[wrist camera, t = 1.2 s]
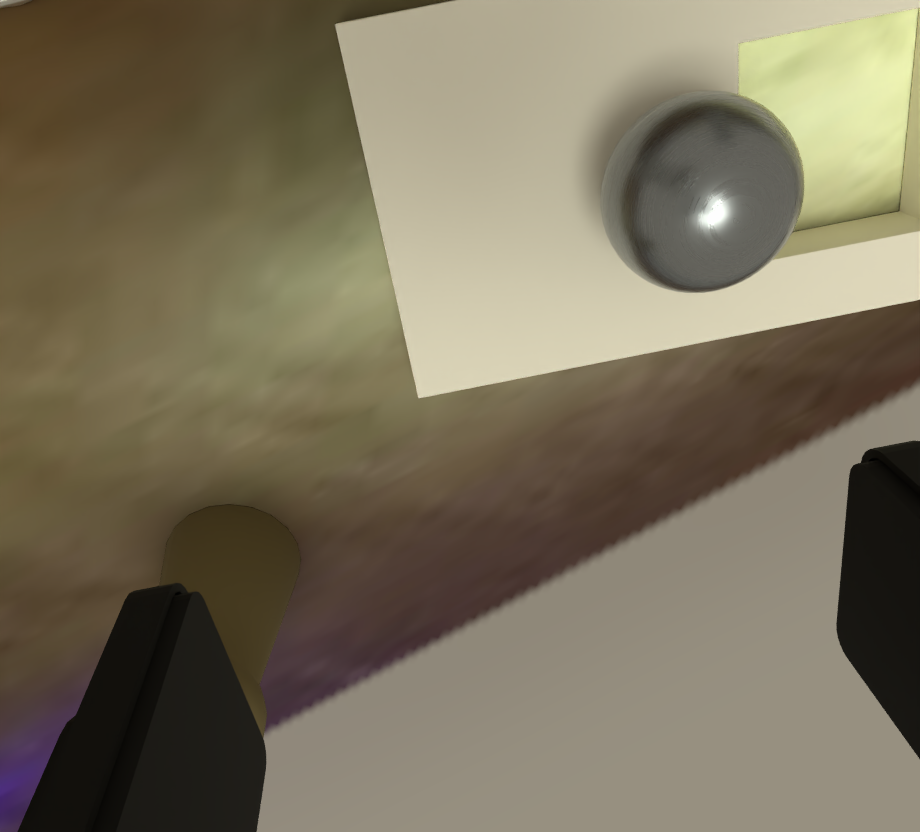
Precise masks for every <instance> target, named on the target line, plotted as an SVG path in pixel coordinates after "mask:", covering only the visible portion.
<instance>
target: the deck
mask: <svg viewBox="0 0 920 832" xmlns="http://www.w3.org/2000/svg"><path fill="white" fill-rule="evenodd" d="M916 8H919V16H918V26H917V36H916V47H915V57H914V67H913V77H912V88H911V98H910V108H909V118H908V129H907V139H906V149H905V159H904V169H903V180H902V190H901V200H900V210H899V211H898V212H893V213H888V214H883V215H878V216H873V217H868V218H862V219H857V220H852V221H847V222H842V223H837V224H832V225H827V226H822V227H817V228H812V229H807V230H802V231H796V232H792V234H791V236H790V237H789V239H788V241H787V242H786V244H785V245H784V247H783V248H782V249H781V250H780V252H779V253H778V254H777V255H776V256H775V257H774V258H773V260H772V261H771V262H770V263H769V264H767V265H766V266H765V267H764V268H763V269H761V270H760V271H759V272H757V273H756V274H754V275H753V276H751V277H750V278H748V279H746V280H744V281H742V282H740V283H738V284H736V285H733V286H730V287H728V288H725V289H721V290H718V291H713V292H706V293H682V292H675V291H671V290H667V289H664V288H661V287H658V286H656V285H654V284H651V283H649V282H648V281H646V280H644V279H643V278H641V277H639V276H638V275H637V274H636V273H634V272H633V271H632V270H631V269H630V268H628V267H627V266H626V265H625V263H624V262H623V261H622V260H621V259H620V258H619V256H618V255H617V253H616V251H615V250H614V248H613V247H612V245H611V243H610V241H609V239H608V237H607V235H606V231H605V228H604V225H603V220H602V214H601V207H600V193H601V184H602V179H603V175H604V171H605V168H606V165H607V163H608V160H609V158H610V156H611V154H612V152H613V150H614V148H615V146H616V144H617V143H618V141H619V140H620V138H621V137H622V135H623V134H624V133H625V132H626V131H627V129H628V128H629V127H630V126H631V125H632V124H633V123H634V122H635V121H636V120H637V119H638V118H639V117H640V116H642V115H643V114H644V113H646V112H647V111H648V110H650V109H651V108H653V107H654V106H656V105H658V104H660V103H661V102H663V101H666V100H668V99H671V98H673V97H676V96H679V95H683V94H686V93H690V92H697V91H724V92H730V93H735V94H738V43H743V42H748V41H753V40H758V39H763V38H769V37H774V36H779V35H784V34H789V33H794V32H799V31H804V30H809V29H814V28H819V27H824V26H829V25H834V24H840V23H845V22H850V21H855V20H860V19H865V18H870V17H875V16H880V15H885V14H890V13H895V12H900V11H905V10H911V9H916ZM335 27H336V31H337V36H338V40H339V45H340V49H341V54H342V58H343V62H344V67H345V71H346V76H347V80H348V85H349V89H350V94H351V98H352V103H353V107H354V112H355V116H356V121H357V125H358V130H359V134H360V138H361V143H362V147H363V152H364V156H365V161H366V165H367V170H368V174H369V179H370V183H371V188H372V192H373V197H374V201H375V206H376V210H377V214H378V219H379V223H380V228H381V232H382V237H383V241H384V246H385V250H386V255H387V259H388V264H389V268H390V273H391V277H392V282H393V286H394V290H395V295H396V299H397V304H398V308H399V313H400V317H401V322H402V326H403V331H404V335H405V340H406V344H407V349H408V353H409V358H410V362H411V366H412V371H413V375H414V380H415V384H416V389H417V393H418V398H423V397H428V396H433V395H438V394H443V393H448V392H453V391H458V390H463V389H468V388H473V387H478V386H483V385H489V384H494V383H499V382H504V381H509V380H514V379H519V378H524V377H529V376H534V375H539V374H544V373H550V372H555V371H560V370H565V369H570V368H575V367H580V366H585V365H590V364H595V363H600V362H605V361H610V360H616V359H621V358H626V357H631V356H636V355H641V354H646V353H651V352H656V351H661V350H666V349H671V348H676V347H682V346H687V345H692V344H697V343H702V342H707V341H712V340H717V339H722V338H727V337H732V336H737V335H742V334H748V333H753V332H758V331H763V330H768V329H773V328H778V327H783V326H788V325H793V324H798V323H803V322H808V321H814V320H819V319H824V318H829V317H834V316H839V315H844V314H849V313H854V312H859V311H864V310H869V309H874V308H880V307H885V306H890V305H895V304H900V303H905V302H910V301H915V300H920V0H452V1H447V2H442V3H436V4H431V5H426V6H421V7H416V8H411V9H406V10H401V11H396V12H391V13H386V14H381V15H376V16H371V17H366V18H360V19H355V20H350V21H345V22H340V23H337V24H335Z"/></svg>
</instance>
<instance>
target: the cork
mask: <svg viewBox="0 0 920 832" xmlns="http://www.w3.org/2000/svg"><path fill="white" fill-rule="evenodd" d="M300 562H301V557H300V553H299V549H298V544H297V542H296V540H295V539H294V537H293V536H292V534H291V533H290V531H289V530H288V528H287V527H285V526H284V525H283V524H282V523H280V522H279V521H278V520H276V519H275V518H274V517H273V516H271V515H269V514H267V513H264V512H262V511H259V510H257V509H254V508H252V507H245V506H238V505H231V504H228V505H220V506H212V507H207V508H204V509H202V510H200V511H197V512H195V513H192V514H190V515H188V516H187V517H186V518H185V519H184V520H183V521H181V522H180V523H179V524H178V525H177V526H176V527H175V528H174V530H173V532H172V534H171V535H170V537H169V539H168V541H167V544H166V549H165V555H164V561H163V567H162V573H161V579H160V584H159V586H162V585H168V584H173V583H181V584H182V585H183V586H184V587H185V588H186V590H187V592H188V593H189V592H195V591H196V592H199V593H200V594H201V595H202V597H203V598H204V600H205V603H206V605H207V607H208V610H209V612H210V614H211V617H212V619H213V621H214V624H215V626H216V628H217V631H218V633H219V635H220V638H221V640H222V642H223V645H224V647H225V649H226V652H227V654H228V657H229V659H230V661H231V664H232V666H233V668H234V671H235V673H236V675H237V678H238V680H239V682H240V685H241V687H242V689H243V692H244V694H245V696H246V699H247V701H248V703H249V706H250V708H251V710H252V713H253V715H254V717H255V720H256V722H257V725H258V727H259V729H260V732H261V734H262V737H264V731H265V724H266V717H267V713H266V706H265V701H264V697H263V694H262V690H261V687H260V685H259V684H260V682H261V679H262V676H263V673H264V670H265V668H266V665H267V662H268V659H269V656H270V653H271V651H272V648H273V645H274V642H275V639H276V637H277V634H278V631H279V628H280V625H281V622H282V620H283V617H284V614H285V611H286V608H287V606H288V603H289V600H290V597H291V594H292V591H293V589H294V586H295V583H296V580H297V577H298V574H299V568H300Z"/></svg>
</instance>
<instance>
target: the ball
mask: <svg viewBox="0 0 920 832" xmlns="http://www.w3.org/2000/svg"><path fill="white" fill-rule="evenodd" d="M803 196H804V171H803V165H802V160H801V157H800V154H799V150H798V148H797V146H796V144H795V142H794V140H793V138H792V135H791V134H790V132H789V131H788V129H787V128H786V127H785V125H784V124H783V123H782V122H781V121H780V120H779V119H778V118H777V117H776V116H775V115H774V114H773V113H772V112H771V111H769V110H768V109H767V108H766V107H764V106H763V105H761V104H759V103H757V102H755V101H754V100H752V99H749V98H747V97H744V96H741V95H738V94H735V93H730V92H724V91H697V92H690V93H686V94H683V95H679V96H676V97H673V98H671V99H668V100H666V101H663V102H661V103H660V104H658V105H656V106H654V107H653V108H651V109H650V110H648V111H647V112H646V113H644V114H643V115H642V116H640V117H639V118H638V119H637V120H636V121H635V122H634V123H633V124H632V125H631V126H630V127H629V128H628V129H627V131H626V132H625V133H624V134H623V135H622V137H621V138H620V140H619V141H618V143H617V144H616V146H615V148H614V150H613V152H612V154H611V156H610V158H609V160H608V163H607V165H606V168H605V171H604V175H603V179H602V184H601V193H600V207H601V214H602V220H603V225H604V228H605V231H606V235H607V237H608V239H609V241H610V243H611V245H612V247H613V248H614V250H615V251H616V253H617V255H618V256H619V258H620V259H621V260H622V261H623V262H624V263H625V265H626V266H627V267H628V268H630V269H631V270H632V271H633V272H634V273H636V274H637V275H638V276H639V277H641V278H643V279H644V280H646V281H648V282H649V283H651V284H654V285H656V286H658V287H661V288H664V289H667V290H671V291H675V292H682V293H706V292H713V291H718V290H721V289H725V288H728V287H730V286H733V285H736V284H738V283H740V282H742V281H744V280H746V279H748V278H750V277H751V276H753V275H754V274H756V273H757V272H759V271H760V270H761V269H763V268H764V267H765V266H766V265H767V264H769V263H770V262H771V261H772V260H773V258H774V257H775V256H776V255H777V254H778V253H779V252H780V250H781V249H782V248H783V247H784V245H785V244H786V242H787V241H788V239H789V237H790V236H791V234H792V232H793V230H794V228H795V226H796V223H797V221H798V218H799V215H800V212H801V207H802V203H803Z"/></svg>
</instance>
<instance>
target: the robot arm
mask: <svg viewBox="0 0 920 832" xmlns="http://www.w3.org/2000/svg"><path fill="white" fill-rule="evenodd" d="M30 1H32V0H0V8H4V7H11V6H19V5H22V4H25V3H27V2H30ZM837 634H838V639H839V642H840V645H841V647H842V649H843V652H844V653H845V655H846V657H847V658H848V659H849V661H850V662H851V664H852V665H853V667H854V668H855V669H856V671H857V672H858V674H859V675H860V676H861V678H862V679H863V680H864V682H865V683H866V684H867V686H868V687H869V689H870V690H871V692H872V693H873V694H874V696H875V697H876V699H877V700H878V701H879V703H880V704H881V706H882V707H883V708H884V709H885V711H886V713H887V714H888V715H889V717H890V718H891V720H892V721H893V722H894V724H895V725H896V727H897V728H898V729H899V731H900V732H901V733H902V735H903V736H904V738H905V739H906V740H907V742H908V743H909V745H910V746H911V747H912V749H913V750H914V752H915V753H916V754H917V756H918V757H919V759H920V441H909V442H904V443H899V444H894V445H889V446H884V447H878V448H873V449H870V450H868V451H866V452H865V454H864V455H863V457H862V461H861V463H858V464H855V465H853V467H852V468H851V471H850V475H849V486H848V498H847V509H846V521H845V532H844V544H843V556H842V567H841V580H840V590H839V602H838V613H837ZM265 771H266V750H265V744H264V740H263V737H262V734H261V732H260V729H259V727H258V725H257V722H256V720H255V717H254V715H253V713H252V710H251V708H250V706H249V703H248V701H247V699H246V696H245V694H244V692H243V689H242V687H241V685H240V682H239V680H238V678H237V675H236V673H235V671H234V668H233V666H232V664H231V661H230V659H229V657H228V654H227V652H226V649H225V647H224V645H223V642H222V640H221V638H220V635H219V633H218V631H217V628H216V626H215V624H214V621H213V619H212V617H211V614H210V612H209V610H208V607H207V605H206V603H205V600H204V598H203V597H202V595H201V594H200V593H199V592H196V591H195V592H189V593H188V592H187V590H186V588H185V587H184V586H183V585H182V584H181V583H173V584H168V585H162V586H157V587H152V588H147V589H142V590H136V591H133V592H131V593H129V595H128V596H127V598H126V599H125V601H124V604H123V606H122V609H121V611H120V613H119V616H118V618H117V620H116V623H115V625H114V627H113V630H112V632H111V634H110V637H109V639H108V641H107V644H106V646H105V648H104V651H103V653H102V655H101V658H100V660H99V662H98V665H97V667H96V669H95V672H94V674H93V676H92V679H91V681H90V683H89V686H88V688H87V690H86V693H85V695H84V698H83V700H82V702H81V705H80V707H79V709H78V712H77V714H76V716H74V717H73V718H72V719H71V720H70V721H68V722H67V724H66V726H65V727H64V729H63V731H62V732H61V734H60V736H59V738H58V741H57V743H56V745H55V747H54V750H53V752H52V754H51V757H50V759H49V761H48V763H47V766H46V768H45V770H44V773H43V775H42V777H41V779H40V782H39V784H38V786H37V789H36V791H35V793H34V795H33V798H32V800H31V802H30V805H29V807H28V809H27V811H26V814H25V816H24V818H23V821H22V823H21V825H20V827H19V830H18V832H256V831H257V824H258V818H259V811H260V804H261V798H262V791H263V784H264V777H265Z"/></svg>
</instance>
